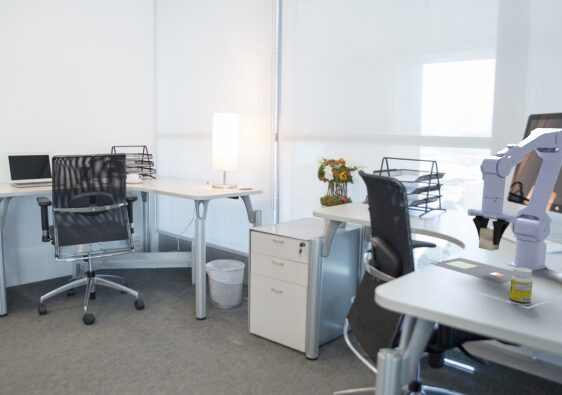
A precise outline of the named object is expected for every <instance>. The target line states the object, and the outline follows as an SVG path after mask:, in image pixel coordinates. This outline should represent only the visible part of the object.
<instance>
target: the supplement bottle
mask: <svg viewBox="0 0 562 395" xmlns="http://www.w3.org/2000/svg"><path fill="white" fill-rule="evenodd" d="M513 271H514V272H513V274H514V275H513V276H512V278H511V281H510V291H509V302H510V303H511V304H513V305H516V306H522V307H524V306H529V305H531V304H532V303H531V302H532V296H533V295H532V294H533V282H534V281H533V280H534V279H533V277H532V276H533V271H532V270H530V269H527V268H521V267H514V268H513Z"/></svg>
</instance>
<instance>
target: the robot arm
mask: <svg viewBox="0 0 562 395" xmlns="http://www.w3.org/2000/svg"><path fill="white" fill-rule="evenodd" d="M532 151H533V152H534V151H535V152H536V154H537V156H538V157H540V158H541V159H542V163H541V167H540V170H539V172H538V175H537V178H536V181H535V184H534V186H533V190H532V193H531V195H530V197H529V199H528V200H529V201H528V204H527V206H525V207H523V208H521V209H520V210H518V211H517V214H516V215H514V214H510V213H505V212H504V211H503V210H504V199H505V189H506V177H508V176H509V175H510V173H511V172H512V169H514V167H516V166H517V165H519V164H520V163H522V162H523V161H524V160H525V157H526V155H527V154H529V153H530V152H532ZM561 169H562V128H541V127H538V128H534V130H531V131H530V134H529V136H528V137H525V139H524V140H522V141H521V142H520V143H519V144H513V143H510V144H509V143H508V144H507V146H506V147H505V148H504V149H502V150H501V151H498V152H496V154H494V156H491V155H490V156H487V157H485V158H484V159H483V160H482V162H481V164H480V171H481V175H482V176H481V177H482V181H483V187H482V189H483V190H482V200H481V209H477V208H475V209H474V208H468V209H467V216H471V217H472V216H473V217H474V218H472V222H473V224H474V226H475V228H476V231H477V232H476V233H477V236H478V239H479V238H480V228H485V227H489V226H488V224H489V222H490V220H493V221H492V228H494V237H493V244H494V245H499V246H500V243H501V240H502V238H503V236H504V233H505V231H506V230H507V228H508V227H509V226H511V227H510V229H511V233H512V234H513V235H514V238H515V249H514V250H515V251H514V260H513V262H510V263H508V264H507V265H509V266H512V267H514V268H516V267H521V268H527V269H530V270H532V272H534V271H537V270H541V269H546V268H548V265H546V256H547V244H546V242H545V240H547V238H548V236H550V231H551V224H552V223H551V222H552V218H551V217H550V215H549V214H548V213H547V212H546V211H547V208H548V206H549V202H550V200H551V196H552V194H553V191H554V189H555V185H556V183H557V180H558V176H559V175H560V171H561Z"/></svg>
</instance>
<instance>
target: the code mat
mask: <svg viewBox="0 0 562 395" xmlns="http://www.w3.org/2000/svg"><path fill="white" fill-rule="evenodd" d="M440 261H441V262H440ZM440 261H436V262H431V263H429V265H432V266H435V267H436V266H437V267H440V268H444V269H447V270H450V271H454V272H458V273H461V274H466V275H468V276H473V277H476V278H478V279H483V280H486V281H491V282H493V283H496V284H500V285H501V284H505V283H509V282H510V283H511V278H512V276H513V275H514V274H513V272H514V270H510V269H507V268H503V267H502V268H501V267H497V266H495V265H490V264H487V263H484V262H483V263H482V262H479V261H475V260H472V259H471V260H470V259H468V258H463V257H458V258H450V259H447V260H440ZM435 263H436V264H435ZM433 264H434V265H433Z"/></svg>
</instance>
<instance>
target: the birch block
mask: <svg viewBox="0 0 562 395" xmlns="http://www.w3.org/2000/svg"><path fill="white" fill-rule="evenodd" d="M493 237H494V228H493V227H490V226H487V227H485V228H480V238H479V237H478V248H479V249H482V250H485V251H497V250H499V249H500V244H499V245H494V244H493Z"/></svg>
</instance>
